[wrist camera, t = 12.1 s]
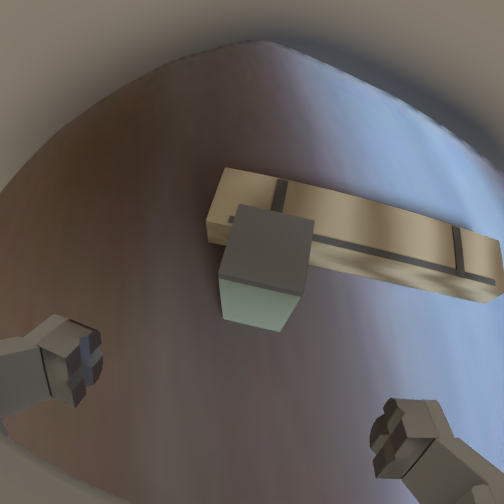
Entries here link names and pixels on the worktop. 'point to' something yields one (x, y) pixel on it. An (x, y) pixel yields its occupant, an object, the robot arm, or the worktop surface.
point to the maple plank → (369, 236)
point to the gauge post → (264, 267)
